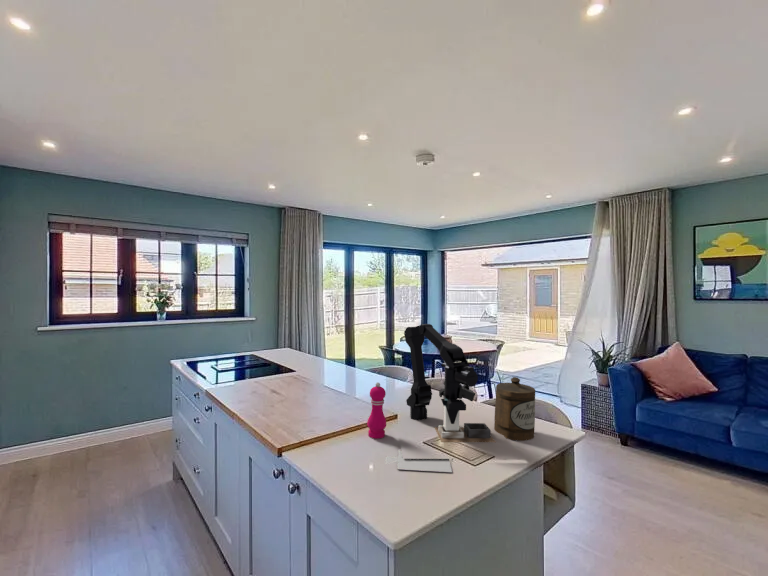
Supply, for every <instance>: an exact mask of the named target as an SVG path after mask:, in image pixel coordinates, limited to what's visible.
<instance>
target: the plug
mask: <svg viewBox="0 0 768 576" xmlns="http://www.w3.org/2000/svg"><path fill="white" fill-rule="evenodd" d="M442 424H443V425H442V426H443V427H444V428H445V430H459V426H460V410H459V411H458V413H457V416H456V419H455V423H454V424H451V422H450V419H449V416H448V413H447V409H446V406H445V405H444V406H443V423H442Z"/></svg>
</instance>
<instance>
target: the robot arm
mask: <svg viewBox="0 0 768 576" xmlns="http://www.w3.org/2000/svg"><path fill="white" fill-rule="evenodd" d="M403 335H404V339H405V342H406V345H408V347H409V349H410V358H411V369H412V379H413V383H412V385H411V388H410V395H409V396H408V397H407V399H406V401H405V402H406V405H407V406H409V410H410V411H409V417H410V419H411V420H417V421H422V420H427V419H428V409H427V406H430V405H431V401H432V396H433V392H432V386H431V384H428V382H427V381H426V374H425V366H424V365H425V364H424V355H423V348H422V347H423V345H424V343H425V338H426V339H427V340H429V342H430V343H431V344H432V345H433V346H434V347H435V348H436V349H438V351H439V356H440V357H441V359H442V360H443V363H441V365H440V366H441V367H442V368H444V381H443V382H442V383H443V385H444V388H440V389H439V390H438V392H439V393H438V395H439V398H441V399H440V400H441V402H442V405H443V407H444V405H445V406H446V409H447V413H448V416H449V419H450V422H451V424H454V423H455V419H456V416H457V413H458V411H459V412H460V411H464V412H465V411H467V404H466V403H465V402H464V400H463V399H465V400H468V401H470V402H473V401H474V398H475V397H476V393H475V392H474V391H473V390H472V389H470V388H472V387H475V386H476V385H477V383H478V380H479V376H478V374H477V372H476V371H475V367H473V366H470V364H469V361H468V360H467V357H466V356H465V353H464V349H462V348H461V346H459V345H458V344H455V343H453V342H450V341H449V340H447V339H446V338H445V337H444V336H443V335H442V334H441V333H440V332H439V331H438V330H436V329H435V328H434V326H433V325H432V324H430V323H424V324H423V323H422V324H420V325H417V326H408V327H406V328H405V330H404V333H403Z"/></svg>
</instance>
